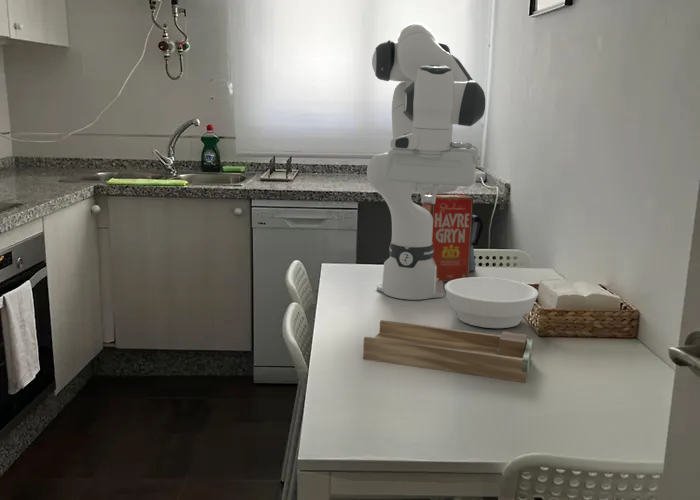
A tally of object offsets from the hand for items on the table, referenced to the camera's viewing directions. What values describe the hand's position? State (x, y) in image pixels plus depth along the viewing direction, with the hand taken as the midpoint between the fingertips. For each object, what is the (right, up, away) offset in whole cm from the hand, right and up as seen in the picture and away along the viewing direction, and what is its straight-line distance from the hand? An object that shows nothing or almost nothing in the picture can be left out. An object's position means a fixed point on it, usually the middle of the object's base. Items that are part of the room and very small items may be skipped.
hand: (428, 203), depth 158 cm
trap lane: (+3, -33, -11) cm, 35 cm away
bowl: (+17, -28, +15) cm, 36 cm away
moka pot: (+18, -17, +66) cm, 71 cm away
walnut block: (+16, -32, -13) cm, 38 cm away
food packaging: (+11, -19, +53) cm, 57 cm away
